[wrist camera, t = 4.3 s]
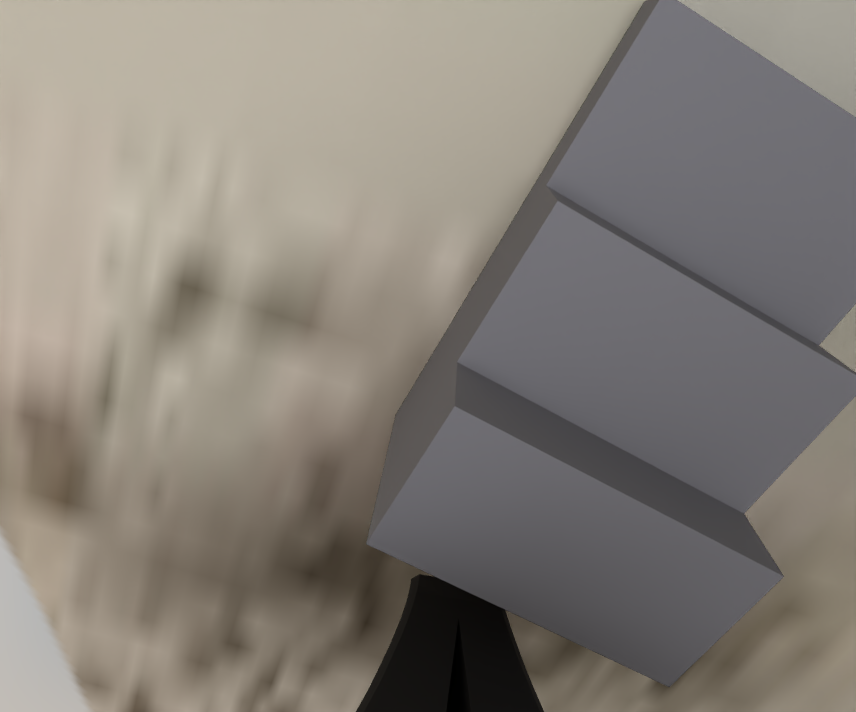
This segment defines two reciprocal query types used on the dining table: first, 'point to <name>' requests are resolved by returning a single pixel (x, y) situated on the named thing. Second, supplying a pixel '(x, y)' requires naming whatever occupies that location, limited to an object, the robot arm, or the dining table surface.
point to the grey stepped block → (639, 356)
